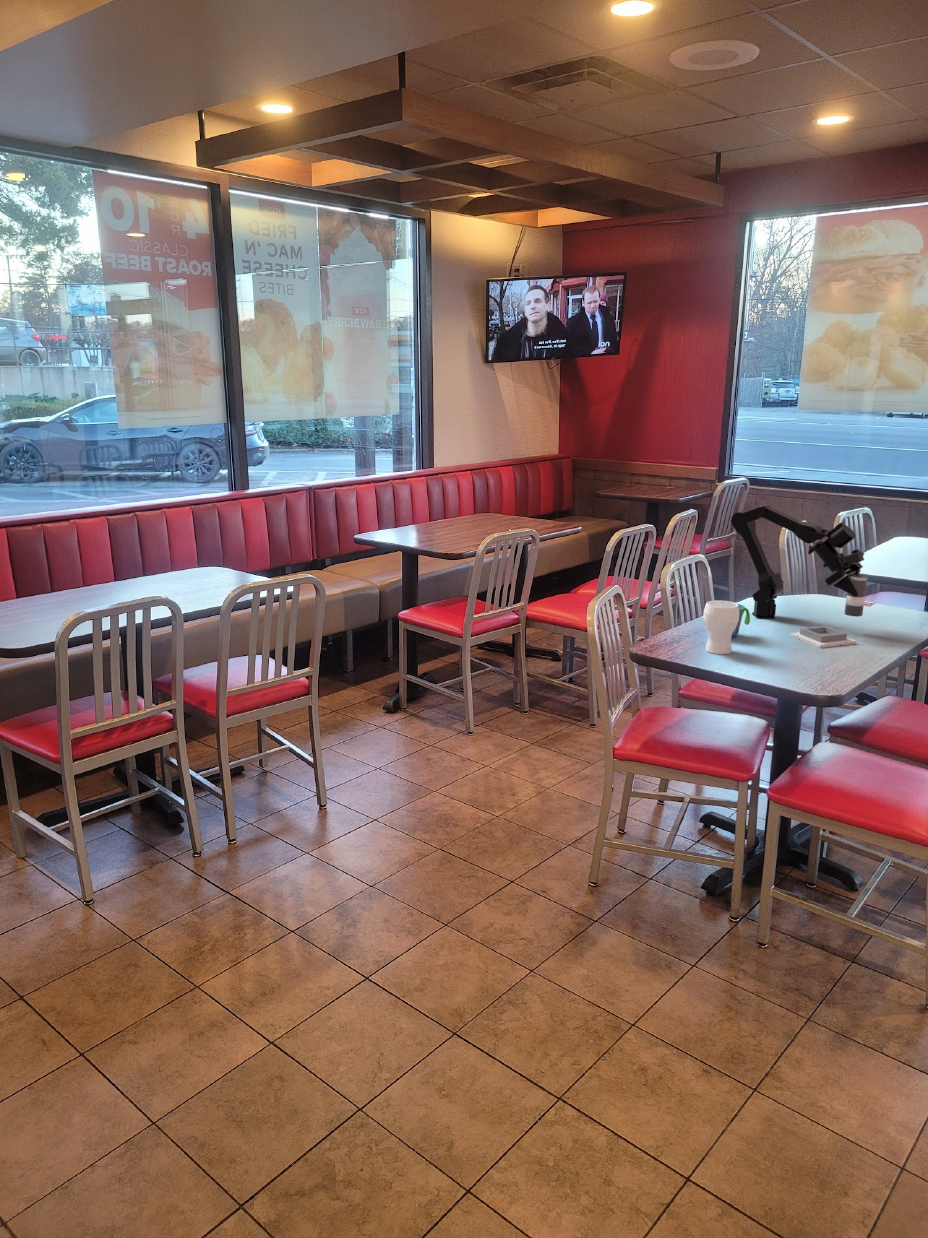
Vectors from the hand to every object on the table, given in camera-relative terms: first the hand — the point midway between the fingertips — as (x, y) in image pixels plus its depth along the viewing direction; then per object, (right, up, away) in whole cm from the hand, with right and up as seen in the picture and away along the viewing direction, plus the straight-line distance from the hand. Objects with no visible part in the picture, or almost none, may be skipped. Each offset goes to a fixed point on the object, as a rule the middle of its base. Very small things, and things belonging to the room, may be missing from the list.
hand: (860, 594), depth 295 cm
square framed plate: (-14, -15, -4) cm, 21 cm away
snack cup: (-44, -14, +1) cm, 46 cm away
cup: (-51, -18, -15) cm, 56 cm away
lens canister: (-1, -7, +3) cm, 7 cm away
